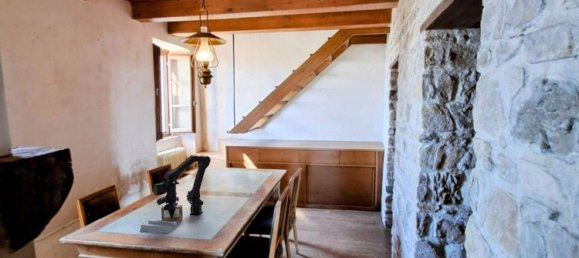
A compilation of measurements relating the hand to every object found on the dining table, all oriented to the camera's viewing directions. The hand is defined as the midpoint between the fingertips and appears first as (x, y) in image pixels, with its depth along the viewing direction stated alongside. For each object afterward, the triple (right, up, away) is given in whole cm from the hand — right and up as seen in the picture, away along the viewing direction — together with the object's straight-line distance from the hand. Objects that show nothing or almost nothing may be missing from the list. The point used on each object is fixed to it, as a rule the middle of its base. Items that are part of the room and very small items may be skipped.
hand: (172, 216), depth 198 cm
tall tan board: (0, -3, 0) cm, 2 cm away
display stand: (-3, -4, -12) cm, 13 cm away
